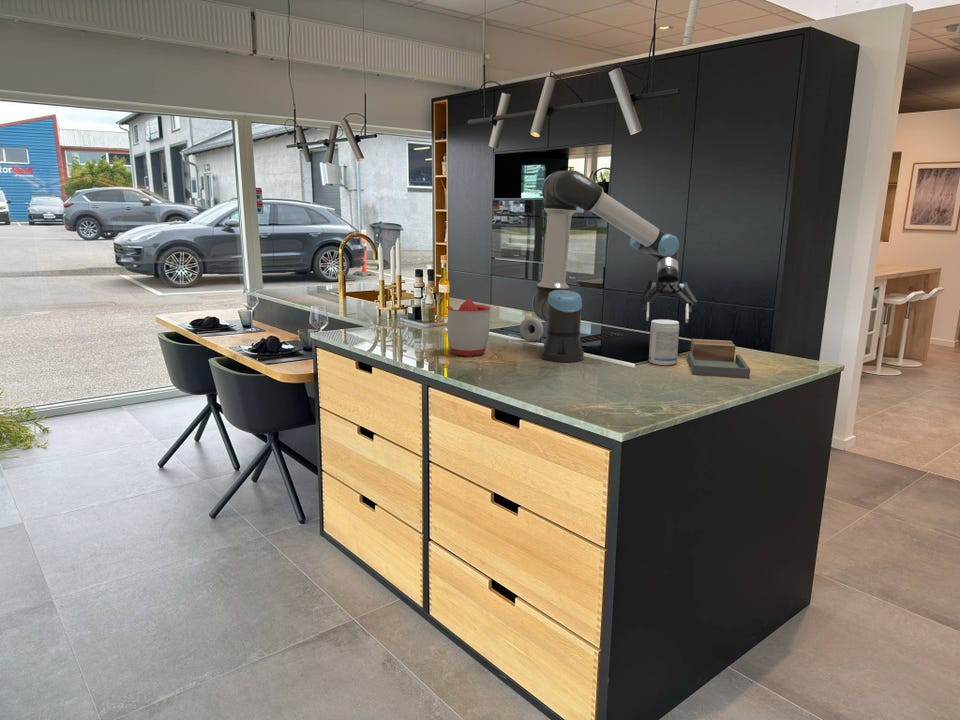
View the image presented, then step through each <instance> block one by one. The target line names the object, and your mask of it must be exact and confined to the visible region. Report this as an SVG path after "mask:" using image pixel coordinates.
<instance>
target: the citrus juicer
mask: <svg viewBox="0 0 960 720" xmlns="http://www.w3.org/2000/svg"><path fill="white" fill-rule="evenodd" d="M446 309H447V316H446V317H447V321H446V323H447V326H446V327H447V328H446V331H447V340H448V344H449V348H450V351H451V353H452V354H454V355H458V356H464V357H473V356H481V355H484V353H485V351H486V349H487V345H488V341H489V336H490V312H491V311H490V309H491V307H490V306H489V305H484V304H475V302H473V300H472V299H470V298H467V299H466V300H464V302H463V303H461V304H460V307H459V308H458V309H454V308H453V307H452V306H451V305H447V306H446Z"/></svg>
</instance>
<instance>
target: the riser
mask: <svg viewBox="0 0 960 720" xmlns="http://www.w3.org/2000/svg"><path fill="white" fill-rule="evenodd" d="M689 352H692V354H693V357H694V359H695V360H711V361H727V362H735V357H736V345H735V344H734V342H733V341H732V340H722V339H721V340H720V339H704V338H691V340H690V350H689Z"/></svg>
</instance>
